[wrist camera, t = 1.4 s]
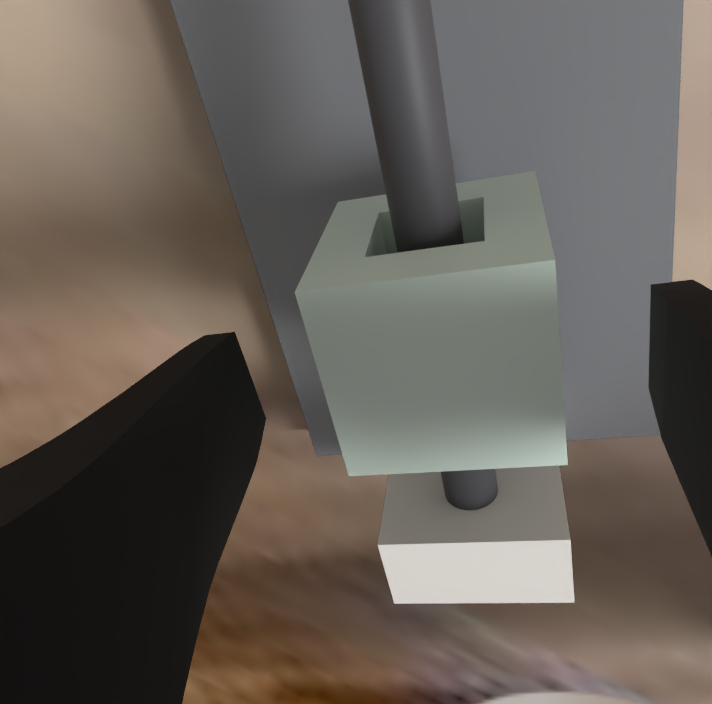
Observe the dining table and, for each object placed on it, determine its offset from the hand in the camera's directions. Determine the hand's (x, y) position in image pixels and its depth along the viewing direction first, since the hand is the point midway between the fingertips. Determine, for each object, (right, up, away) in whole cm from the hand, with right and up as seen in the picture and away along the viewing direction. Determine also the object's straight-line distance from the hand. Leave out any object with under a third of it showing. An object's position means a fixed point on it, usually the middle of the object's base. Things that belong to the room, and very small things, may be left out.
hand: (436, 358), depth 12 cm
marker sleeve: (+1, +2, +3) cm, 3 cm away
